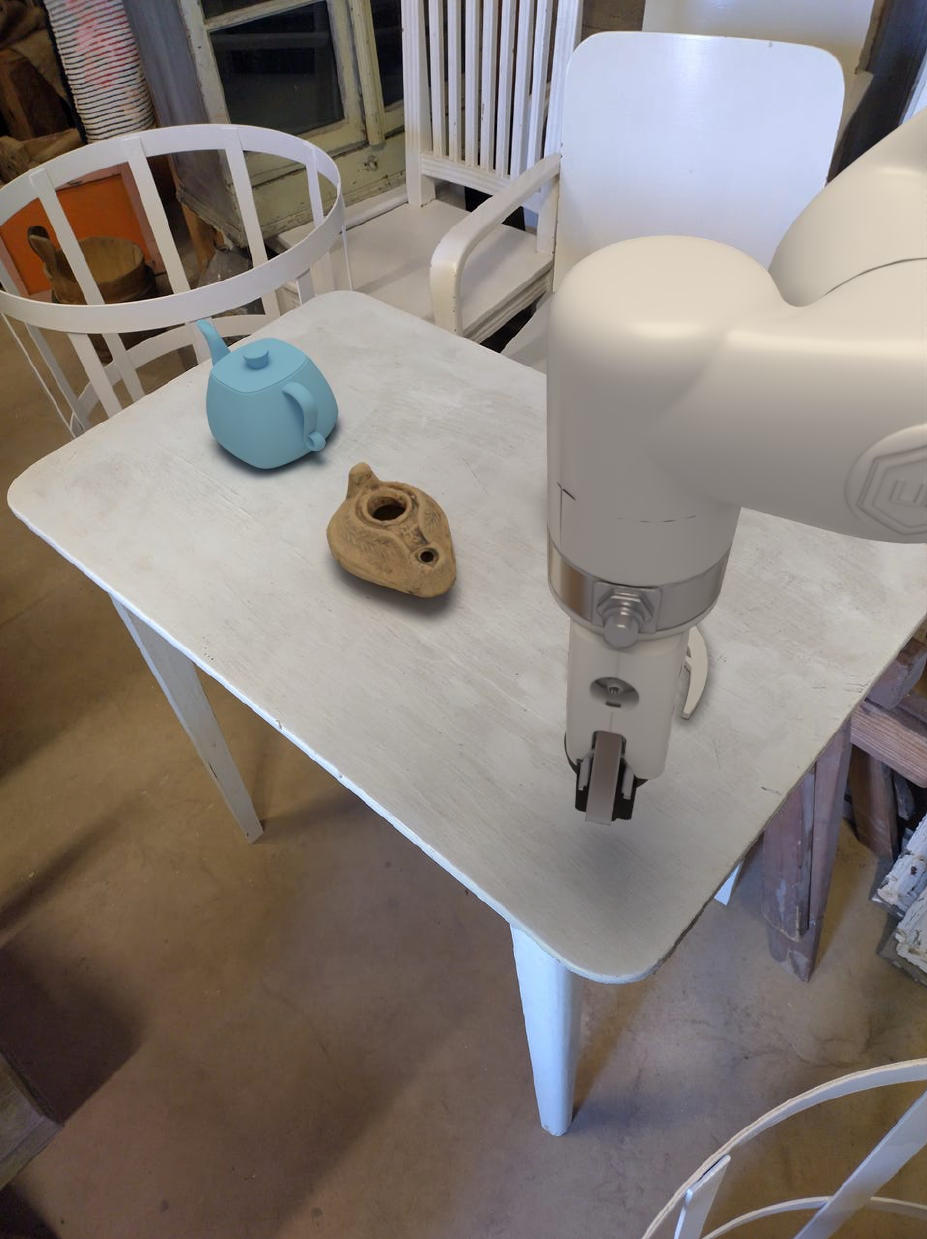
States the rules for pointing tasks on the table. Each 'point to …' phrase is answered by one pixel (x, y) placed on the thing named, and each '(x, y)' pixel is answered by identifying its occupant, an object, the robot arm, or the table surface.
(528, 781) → the table surface
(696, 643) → the pliers
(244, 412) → the teapot
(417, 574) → the oil lamp
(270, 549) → the table surface
